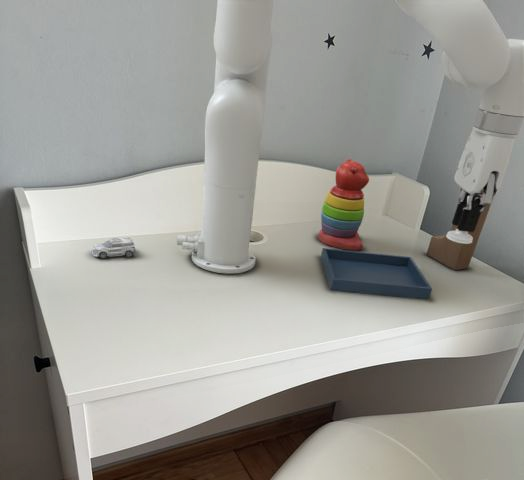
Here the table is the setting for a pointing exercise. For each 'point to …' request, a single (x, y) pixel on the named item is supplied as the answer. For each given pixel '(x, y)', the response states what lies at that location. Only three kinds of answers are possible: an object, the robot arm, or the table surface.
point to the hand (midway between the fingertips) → (462, 227)
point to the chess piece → (460, 233)
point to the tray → (374, 274)
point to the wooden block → (456, 246)
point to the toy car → (114, 248)
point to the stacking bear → (344, 208)
